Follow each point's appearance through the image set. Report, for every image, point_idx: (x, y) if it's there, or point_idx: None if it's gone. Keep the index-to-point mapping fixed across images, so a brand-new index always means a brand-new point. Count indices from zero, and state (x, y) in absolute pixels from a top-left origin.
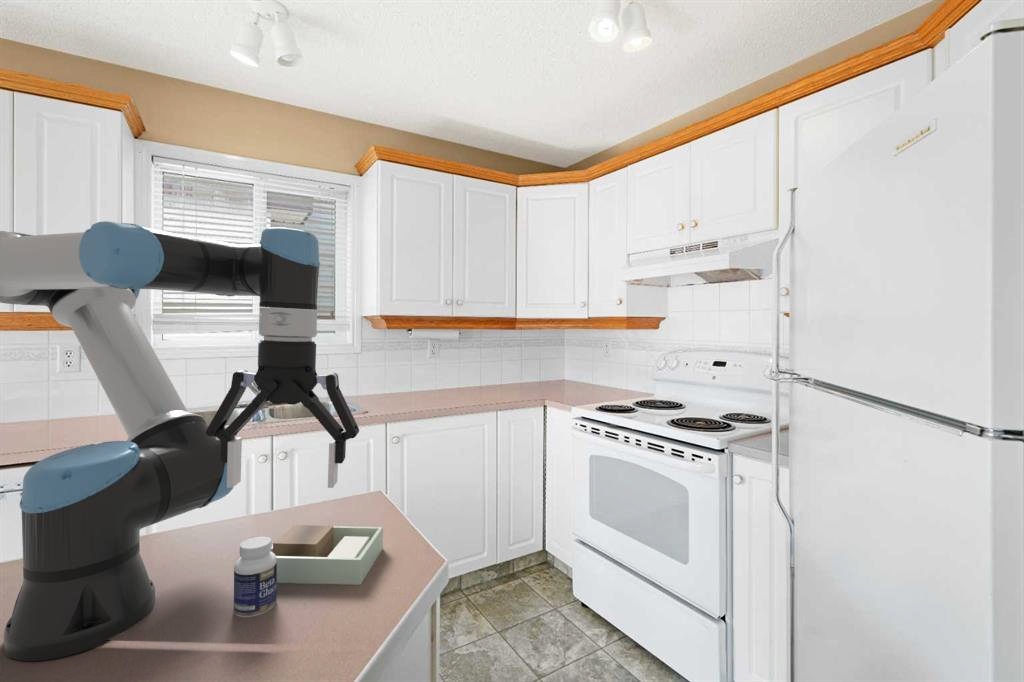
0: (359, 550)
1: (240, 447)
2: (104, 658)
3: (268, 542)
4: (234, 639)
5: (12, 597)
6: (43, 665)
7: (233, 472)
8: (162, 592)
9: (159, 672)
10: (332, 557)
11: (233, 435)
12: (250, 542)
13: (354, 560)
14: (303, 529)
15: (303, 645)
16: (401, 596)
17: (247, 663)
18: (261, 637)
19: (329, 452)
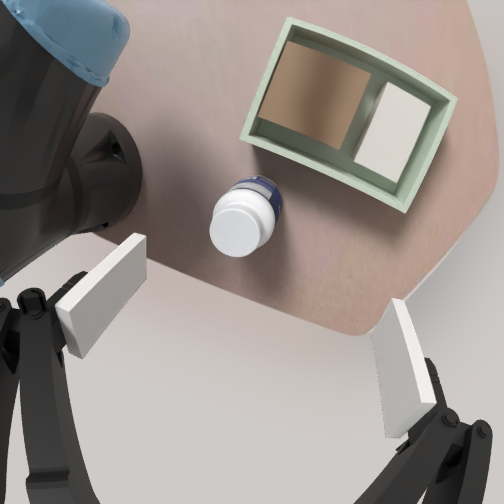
0: (409, 155)
1: (89, 296)
2: None
3: (256, 242)
4: None
5: None
6: None
7: (127, 296)
8: (135, 120)
9: (191, 275)
10: (364, 185)
11: (53, 334)
12: (225, 231)
13: (396, 208)
14: (310, 68)
15: (317, 289)
16: (434, 241)
17: (265, 294)
18: (273, 259)
19: (384, 413)
